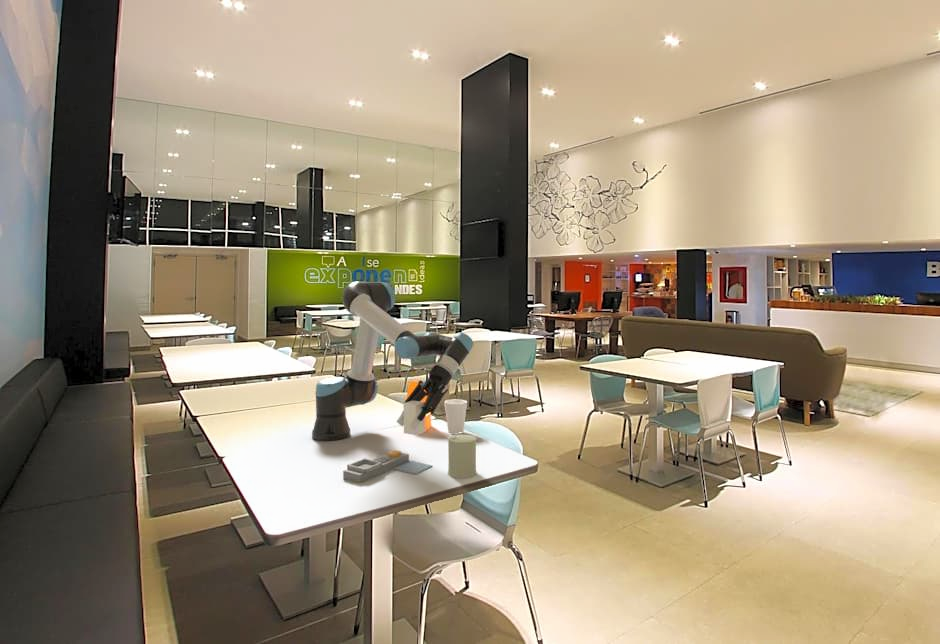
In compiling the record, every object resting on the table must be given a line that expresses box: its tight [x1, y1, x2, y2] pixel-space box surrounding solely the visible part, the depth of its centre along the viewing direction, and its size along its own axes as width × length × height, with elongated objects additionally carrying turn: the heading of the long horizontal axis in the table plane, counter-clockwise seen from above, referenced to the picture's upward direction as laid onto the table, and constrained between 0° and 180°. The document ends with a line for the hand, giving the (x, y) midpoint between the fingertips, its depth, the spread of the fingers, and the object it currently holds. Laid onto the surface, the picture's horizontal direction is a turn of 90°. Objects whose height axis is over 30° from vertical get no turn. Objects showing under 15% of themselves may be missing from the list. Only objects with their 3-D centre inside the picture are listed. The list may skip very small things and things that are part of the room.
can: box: [447, 434, 477, 479], centre depth 164 cm, size 9×9×12 cm
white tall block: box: [403, 401, 426, 436], centre depth 168 cm, size 5×5×10 cm
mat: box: [393, 460, 433, 475], centre depth 169 cm, size 9×9×1 cm
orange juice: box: [406, 381, 432, 431], centre depth 221 cm, size 8×9×20 cm
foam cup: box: [444, 398, 468, 434], centre depth 213 cm, size 10×9×13 cm
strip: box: [342, 450, 410, 484], centre depth 168 cm, size 8×24×4 cm, turn 148°
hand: (405, 425), depth 166 cm, fingers closed on white tall block, 6 cm apart
